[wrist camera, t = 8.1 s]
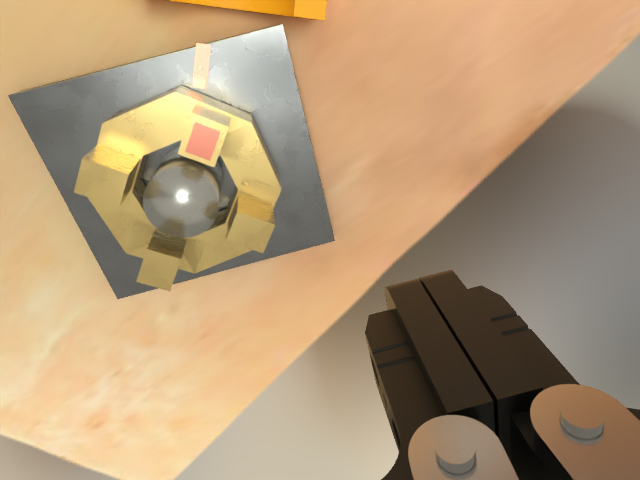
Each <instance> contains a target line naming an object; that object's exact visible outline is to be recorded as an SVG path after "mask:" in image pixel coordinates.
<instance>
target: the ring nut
mask: <svg viewBox="0 0 640 480" xmlns="http://www.w3.org/2000/svg"><path fill="white" fill-rule="evenodd" d="M180 140H182V141H181V145H180V148H179V151H178V154H179V155H182V156H185V157H187V158H190V159H193V160H195V161H198V162H201V163H204V164H206V165H209V166H212V167H215V165H216V162H217V159H218V156H219V155H221V157H222V159H223V161H224V163H225V165H226V167H227V169H228V171H229V173H230V175H231V177H232V179H233V181H234V183H235V185H236V187H235V189H234V192H233V194H232V197H231V200H230V202H229V205H228V207H227V209H225V210H222V211H220V212H218V214H217V217H216V219H215V221H214V223H213V224H212V225H211V227H210V228H209V229H207V230H206V231H205V232H203V233H201V234H199V235H197V236H194V237H188V238H179V237H173V236H170V235H167V234H165V233H163V232H161V231H160V230H158V229H157V228H156V227H154V226H153V225H152V223H151V222H150V221H149V220H148V218H147V216H146V214H145V212H144V208H143V194H144V191H145V188H146V186H145V185H144V183H143V181H142V180H141V177H142V174H143V170H144V167H145V164H146V160H147V157H148V154H149V153H151V152H153V151H156V150H158V149H161V148H163V147H165V146H168V145H170V144H172V143H175V142H177V141H180ZM281 190H282V188H281V183H280V177H279V175H278V172H277V170H276V168H275V166H274V164H273V161H272V159H271V157H270V155H269V152H268V150H267V148H266V146H265V143H264V141H263V139H262V137H261V134H260V132H259V130H258V128H257V125H256V123H255V121H254V119H253V116H252V115H251V114H249V113H247V112H244V111H242V110H239V109H237V108H235V107H232V106H230V105H227V104H225V103H223V102H220V101H218V100H215V99H213V98H210V97H208V96H206V95H203V94H201V93H198V92H196V91H194V90H191V89H189V88H186V87H184V86H182V85H181V86H179V87H177V88H174V89H172V90H169V91H167V92H165V93H162V94H160V95H158V96H155V97H153V98H151V99H148V100H146V101H144V102H141V103H139V104H137V105H134V106H132V107H130V108H127V109H125V110H123V111H120V112H118V113H116V114H114V115H112V116H111V117H110V118H108V119H107V120H106V121H104V122H103V123H102V126H101V130H100V134H99V138H98V142H97V146H96V147H94V148H93V149H92V150H91V151H90V152H89V153H88V154H86V155H85V156H84V157H83V158H82V160H81V164H80V169H79V173H78V177H77V181H76V185H75V189H74V193H77V194H80V195H83V196H86V197H88V199H89V200H90V202H91V203H92V205H93V206H94V207H95V209H96V210H97V212H98V213H99V215H100V216H101V218H102V219H103V221H104V222H105V224H106V225H107V226H108V228H109V229H110V231H111V232H112V234H113V235H114V237H115V238H116V240H117V241H118V242H119V244H120V245H121V247H122V248H123V250H124V251H125V253H126V254H130V255H133V256H137V257H140V258H143V262H142V265H141V268H140V271H139V274H138V277H137V281H136V282H139V283H142V284H146V285H150V286H153V287H157V288H161V289H164V290H168V291H170V290H171V287H172V284H173V281H174V278H175V276H176V273H177V270H178V269H181V270H184V271H188V272H191V273H198V272H200V271H203V270H205V269H207V268H210V267H212V266H215V265H217V264H220V263H222V262H225V261H227V260H230V259H232V258H235V257H237V256H239V255H242V254H244V253H247V252H249V251H252V250H254V251H258V252H261V253H263V252H264V250H265V248H266V246H267V243H268V241H269V239H270V236H271V234H272V232H273V230H274V227H275V216H274V206H275V204H276V202H277V199H278V197H279V195H280V192H281Z"/></svg>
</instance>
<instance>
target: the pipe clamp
mask: <svg viewBox="0 0 640 480" xmlns="http://www.w3.org/2000/svg"><path fill="white" fill-rule="evenodd" d="M167 1H175V2H183V3H190V4H198V5H206V6H213V7H221V8H229V9H236V10H244V11H252V12H260V13H267V14H275V15H283V16H290V17H298V18H306V19H314V20H325V13H326V4H327V0H167Z"/></svg>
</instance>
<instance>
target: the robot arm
mask: <svg viewBox="0 0 640 480" xmlns="http://www.w3.org/2000/svg"><path fill="white" fill-rule="evenodd" d="M385 295H386V301H387V307H388V310H387V311H383V312H379V313H375V314H371V315H369V318H368V322H367V327H366V331H365V334H366V339H367V344H368V348H369V353H370V357H371V362H372V366H373V371H374V375H375V380H376V384H377V387H378V390H379V393H380V396H381V399H382V402H383V405H384V408H385V411H386V414H387V417H388V420H389V423H390V426H391V429H392V432H393V435H394V438H395V441H396V444H397V447H398V450H399V455H398V458H397V460H396V462H395V464H394V466H393V467H392V469H391V470H390V471H389V473H388V474H387V475H386V476H385V477H384V478H383V479H381V480H640V410H637V409H631V408H626V407H625V406H624V405H622V404H621V403H620V402H619V401H618V400H616V399H614V398H613V397H611V396H610V395H608V394H606V393H604V392H602V391H600V390H597V389H595V388H592V387H588V386H584V385H580V384H579V383H578V382H577V381H576V380H575V379H574V378H573V377H572V376H571V374H570V373H569V372H568V371H567V370H566V369H565V367H564V366H563V365H562V364H561V363H560V362H559V361H558V359H557V358H556V357H555V356H554V355H553V354H552V353H551V352H550V350H549V349H548V348H547V347H546V346H545V345H544V343H543V342H542V341H541V340H540V339H539V338H538V337H537V335H536V334H535V333H534V332H533V331H532V330H531V329H528V325H527V324H526V323H525V322H524V321H523V320H522V318H521V317H520V316H517V314H516V312H515V311H514V309H513V308H512V307H511V306H510V305H509V303H508V302H507V301H506V300H505V299H504V298H503V297H502V296H501V295H499V294H497V293H495V292H493V291H491V290H489V289H487V288H485V287H483V286H478V287H474V288H470V289H467V288H466V287H465V286H464V284H463V283H462V282H461V280H460V279H459V278H458V277H457V275H456V274H455V273H454V272H453V271H452V270H448V271H445V272H440V273H436V274H433V275H429V276H425V277H421V278H419V279H414V280H410V281H406V282H403V283H399V284H395V285H391V286H387V287H385Z"/></svg>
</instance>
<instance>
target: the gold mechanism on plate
mask: <svg viewBox="0 0 640 480" xmlns="http://www.w3.org/2000/svg"><path fill="white" fill-rule="evenodd" d="M181 85H182V86H184V87H186V88H189V89H191V90H194V91H196V92H198V93H201V94H203V95H206V96H208V97H210V98H213V99H215V100H218V101H220V102H223V103H225V104H227V105H230V106H232V107H235V108H237V109H239V110H242V111H244V112H247V113H249V114H251V115H252V116H253V119H254V121H255V123H256V125H257V128H258V130H259V132H260V134H261V137H262V139H263V141H264V143H265V146H266V148H267V150H268V152H269V155H270V157H271V159H272V161H273V164H274V166H275V168H276V170H277V172H278V175H279V177H280V183H281V188H282V190H281V192H280V195H279V197H278V199H277V202H276V204H275V206H274V216H275V227H274V230H273V232H272V234H271V236H270V239H269V241H268V243H267V246H266V248H265V250H264V252H263V253H261V252H258V251H254V250H252V251H249V252H247V253H244V254H242V255H239V256H237V257H235V258H232V259H230V260H227V261H225V262H222V263H220V264H217V265H215V266H212V267H210V268H207V269H205V270H203V271H200V272H198V273H191V272H188V271H184V270H181V269H178V270H177V273H176V276H175V278H174V281H173V284H176V283H180V282H183V281H187V280H191V279H194V278H198V277H202V276H206V275H209V274H213V273H217V272H220V271H224V270H228V269H232V268H235V267H239V266H243V265H246V264H250V263H254V262H257V261H261V260H265V259H269V258H272V257H276V256H280V255H283V254H287V253H291V252H295V251H298V250H302V249H306V248H309V247H313V246H317V245H320V244H324V243H328V242H332V241H335V240H334V235H333V231H332V227H331V223H330V219H329V215H328V211H327V206H326V202H325V198H324V194H323V190H322V186H321V182H320V177H319V173H318V169H317V165H316V161H315V157H314V152H313V148H312V144H311V140H310V136H309V132H308V128H307V123H306V119H305V115H304V111H303V107H302V103H301V98H300V94H299V90H298V86H297V82H296V78H295V74H294V69H293V65H292V61H291V57H290V53H289V49H288V44H287V40H286V36H285V32H284V28H283V24H279V25H275V26H272V27H268V28H264V29H260V30H256V31H252V32H248V33H245V34H241V35H237V36H233V37H229V38H225V39H221V40H218V41H214V42H210V43H206V44H202V43H197V42H196V46H194V47H191V48H187V49H183V50H179V51H175V52H171V53H167V54H164V55H160V56H156V57H152V58H148V59H144V60H140V61H136V62H133V63H129V64H125V65H121V66H117V67H113V68H109V69H106V70H102V71H98V72H94V73H90V74H86V75H82V76H79V77H75V78H71V79H67V80H63V81H59V82H55V83H52V84H48V85H44V86H40V87H36V88H32V89H28V90H25V91H21V92H17V93H14V94H11V95H8V96H9V98H10V100H11V102H12V104H13V106H14V107H15V109H16V111H17V113H18V115H19V117H20V119H21V120H22V122H23V124H24V126H25V128H26V130H27V132H28V133H29V135H30V137H31V139H32V141H33V143H34V145H35V146H36V148H37V150H38V152H39V154H40V156H41V158H42V159H43V161H44V163H45V165H46V167H47V169H48V171H49V172H50V174H51V176H52V178H53V180H54V182H55V184H56V185H57V187H58V189H59V191H60V193H61V195H62V197H63V198H64V200H65V202H66V204H67V206H68V208H69V210H70V211H71V213H72V215H73V217H74V219H75V221H76V223H77V224H78V226H79V228H80V230H81V232H82V234H83V236H84V237H85V239H86V241H87V243H88V245H89V247H90V249H91V250H92V252H93V254H94V256H95V258H96V260H97V262H98V263H99V265H100V267H101V269H102V271H103V273H104V275H105V276H106V278H107V280H108V282H109V284H110V286H111V288H112V289H113V291H114V293H115V295H116V297H117V299H120V298H124V297H128V296H131V295H135V294H139V293H143V292H146V291H150V290H154V289H157V287H153V286H150V285H146V284H142V283H139V282H136V281H137V277H138V274H139V271H140V268H141V265H142V262H143V258H140V257H137V256H133V255H130V254H126V253H125V251H124V250H123V248H122V247H121V245H120V244H119V242H118V241H117V240H116V238H115V237H114V235H113V234H112V232H111V231H110V229H109V228H108V226H107V225H106V224H105V222H104V221H103V219H102V218H101V216H100V215H99V213H98V212H97V210H96V209H95V207H94V206H93V205H92V203H91V202H90V200H89V199H88V197H86V196H83V195H80V194H77V193H74V189H75V185H76V181H77V177H78V173H79V169H80V164H81V160H82V158H83V157H84V156H85V155H86V154H88V153H89V152H90V151H91V150H92V149H93V148H94V147H96V146H97V142H98V138H99V134H100V130H101V126H102V123H103V122H104V121H106V120H107V119H108V118H110V117H111V116H112V115H114V114H116V113H118V112H120V111H123V110H125V109H127V108H130V107H132V106H134V105H137V104H139V103H141V102H144V101H146V100H148V99H151V98H153V97H155V96H158V95H160V94H162V93H165V92H167V91H169V90H172V89H174V88H177V87H179V86H181ZM181 141H182V140H180V141H177V142H175V143H172V144H170V145H168V146H165V147H163V148H161V149H158V150H156V151H153V152H151V153H149V154H148V157H147V160H146V164H145V167H144V170H143V174H142V177H141V180H142V181H143V183H144V185H145V186H146V188H145V191H144V194H143V208H144V212H145V214H146V216H147V218H148V220H149V221H150V222H151V223H152V225H153V226H154V227H156V228H157V229H158V230H160V231H161V232H163V233H165V234H167V235H170V236H173V237H179V238H188V237H194V236H197V235H199V234H201V233H203V232H205V231H206V230H207V229H209V228H210V227H211V225H212V224H213V223H214V221H215V219H216V217H217V214H218V212H220V211H222V210H225V209H227V207H228V205H229V202H230V200H231V197H232V194H233V192H234V189H235V187H236V185H235V183H234V181H233V179H232V177H231V175H230V173H229V171H228V169H227V167H226V165H225V163H224V161H223V159H222V157H221V155H219V156H218V159H217V162H216V165H215V167H212V166H209V165H206V164H204V163H201V162H198V161H195V160H193V159H190V158H187V157H185V156H182V155H179V154H178V151H179V148H180V145H181Z"/></svg>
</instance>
